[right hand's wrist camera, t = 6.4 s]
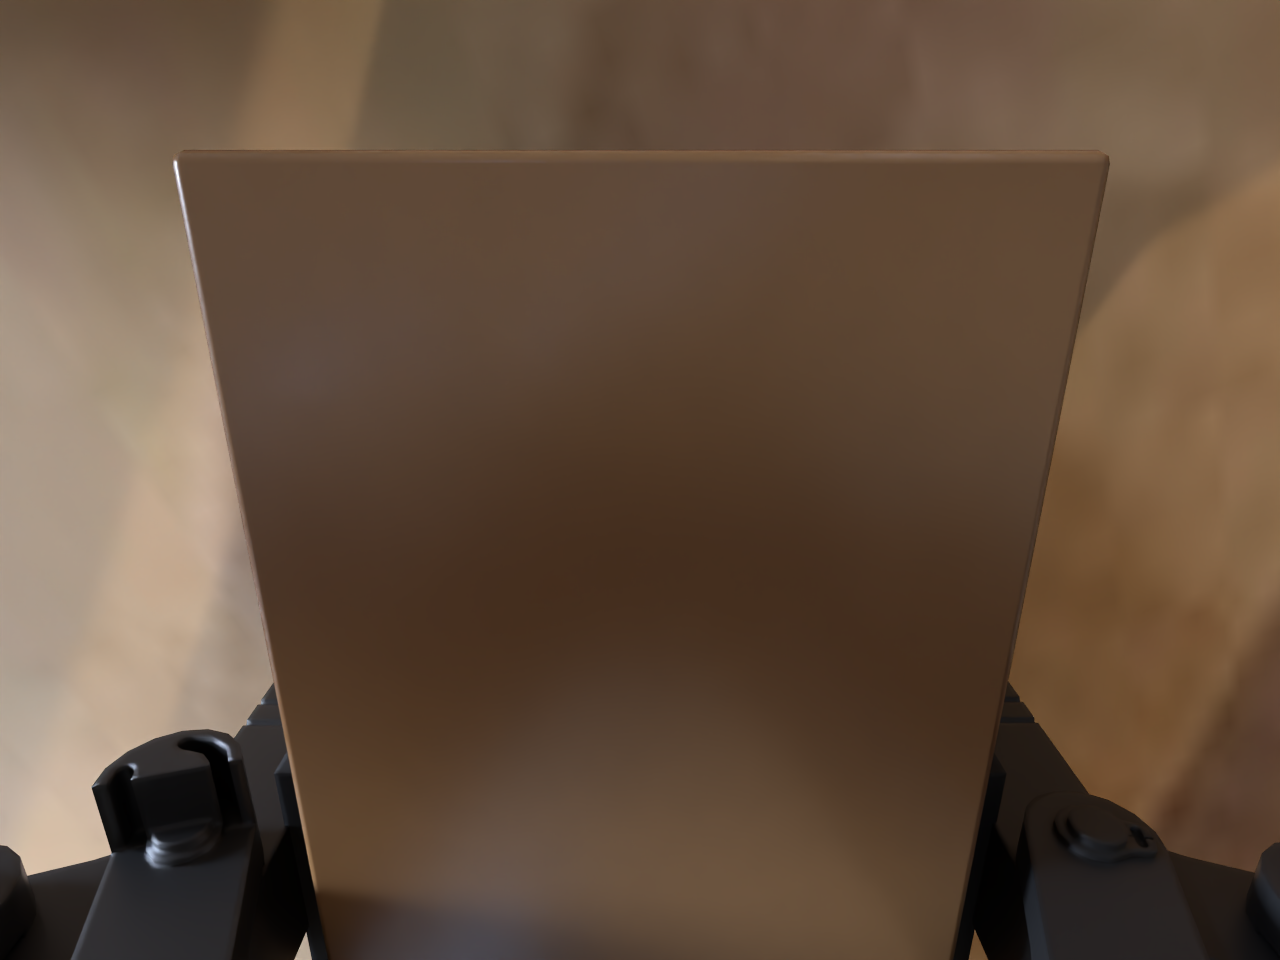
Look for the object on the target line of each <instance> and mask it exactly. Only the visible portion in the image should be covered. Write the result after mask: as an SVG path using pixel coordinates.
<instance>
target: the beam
mask: <svg viewBox="0 0 1280 960" xmlns="http://www.w3.org/2000/svg"><path fill="white" fill-rule="evenodd" d="M1109 165H1110V163H1109V156H1108V155H1107V154H1105V153H1103V152H1101V151H1099V150H183V151H181V152H179V153H177V154H175V155H174V157H173V169H174V174H175V179H176V184H177V189H178V194H179V199H180V204H181V210H182V215H183V220H184V225H185V230H186V235H187V240H188V245H189V251H190V256H191V261H192V266H193V271H194V276H195V281H196V286H197V291H198V297H199V302H200V307H201V312H202V317H203V322H204V327H205V332H206V338H207V343H208V348H209V353H210V358H211V363H212V368H213V373H214V379H215V384H216V389H217V394H218V399H219V404H220V409H221V414H222V419H223V425H224V430H225V435H226V440H227V445H228V450H229V455H230V460H231V466H232V471H233V476H234V481H235V486H236V491H237V496H238V501H239V506H240V512H241V517H242V522H243V527H244V532H245V537H246V542H247V547H248V553H249V558H250V563H251V568H252V573H253V578H254V583H255V588H256V594H257V599H258V604H259V609H260V614H261V619H262V624H263V629H264V634H265V640H266V645H267V650H268V655H269V660H270V665H271V670H272V675H273V681H274V686H275V691H276V696H277V701H278V706H279V711H280V716H281V722H282V727H283V732H284V737H285V742H286V747H287V752H288V757H289V762H290V768H291V773H292V778H293V783H294V788H295V793H296V798H297V803H298V809H299V814H300V819H301V824H302V829H303V834H304V839H305V844H306V849H307V855H308V860H309V865H310V870H311V875H312V880H313V885H314V890H315V896H316V901H317V906H318V911H319V916H320V921H321V926H322V931H323V937H324V942H325V947H326V952H327V957H328V960H953V958H954V953H955V948H956V943H957V938H958V932H959V927H960V922H961V917H962V912H963V907H964V902H965V897H966V892H967V887H968V882H969V877H970V872H971V866H972V861H973V856H974V851H975V846H976V841H977V836H978V831H979V826H980V821H981V816H982V811H983V805H984V800H985V795H986V790H987V785H988V780H989V775H990V770H991V765H992V760H993V755H994V750H995V744H996V739H997V734H998V729H999V724H1000V719H1001V714H1002V709H1003V704H1004V699H1005V694H1006V689H1007V683H1008V678H1009V673H1010V668H1011V663H1012V658H1013V653H1014V648H1015V643H1016V638H1017V633H1018V628H1019V623H1020V617H1021V612H1022V607H1023V602H1024V597H1025V592H1026V587H1027V582H1028V577H1029V572H1030V567H1031V562H1032V556H1033V551H1034V546H1035V541H1036V536H1037V531H1038V526H1039V521H1040V516H1041V511H1042V506H1043V501H1044V495H1045V490H1046V485H1047V480H1048V475H1049V470H1050V465H1051V460H1052V455H1053V450H1054V445H1055V440H1056V434H1057V429H1058V424H1059V419H1060V414H1061V409H1062V404H1063V399H1064V394H1065V389H1066V384H1067V379H1068V374H1069V368H1070V363H1071V358H1072V353H1073V348H1074V343H1075V338H1076V333H1077V328H1078V323H1079V318H1080V313H1081V307H1082V302H1083V297H1084V292H1085V287H1086V282H1087V277H1088V272H1089V267H1090V262H1091V257H1092V252H1093V246H1094V241H1095V236H1096V231H1097V226H1098V221H1099V216H1100V211H1101V206H1102V201H1103V196H1104V191H1105V185H1106V180H1107V175H1108V170H1109Z"/></svg>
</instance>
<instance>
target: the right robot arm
mask: <svg viewBox="0 0 1280 960" xmlns="http://www.w3.org/2000/svg"><path fill="white" fill-rule="evenodd" d="M261 701H262V702H261V705H257V707H256V708H255V710H254V711H253V712H252V714H251V715H250V717H249V718H248V719H247V725H246V726H242V728H241V729H240V731H239V732H238V733H237V735H236V736H235V738H234V739H233V738H232V737H231V736H230V735H229V734H226V733H222V732H218V731H213V730H209V729H206V730H190V731H181V732H177V733H173V734H170V735H166V736H162V737H159V738H155V739H153V740H151V741H149V742H147V743H145V744H142V745H140V746H138V747H136V748H134V749H132V750H130V751H128V752H126V753H125V754H124V755H122V756H121V757H120V758H119V759H117V760H116V761H115V762H113V763H112V764H111V765H109V766H108V767H107V768H105V770H104V771H103V772H102V774H101V775H100V776H99V778H98V779H97V780H96V782H95V783H94V784H93V786H92V790H93V794H94V797H95V800H96V803H97V806H98V810H99V813H100V816H101V819H102V823H103V826H104V829H105V832H106V835H107V839H108V842H109V845H110V848H111V852H112V854H111V855H109V856H105V857H102V858H99V859H96V860H92V861H88V862H84V863H80V864H75V865H71V866H67V867H63V868H59V869H54V870H50V871H46V872H42V873H38V874H33V875H29V876H27V875H26V872H25V869H24V866H23V864H22V861H21V858H20V856H19V855H17V854H16V853H15V852H14V851H12V850H11V849H10V848H9V847H8V846H1V845H0V960H294V959H295V956H296V954H297V952H298V949H299V947H300V945H301V943H302V940H303V938H304V936H305V933H306V932H307V937H308V942H309V947H310V952H311V956H312V960H328V957H327V952H326V947H325V942H324V937H323V931H322V926H321V921H320V916H319V911H318V906H317V901H316V896H315V890H314V885H313V880H312V875H311V870H310V865H309V860H308V855H307V849H306V844H305V839H304V834H303V829H302V824H301V819H300V814H299V809H298V803H297V798H296V793H295V788H294V783H293V778H292V773H291V768H290V762H289V757H288V752H287V747H286V742H285V737H284V732H283V727H282V722H281V716H280V711H279V706H278V701H277V696H276V691H275V686H274V683H273V684H272V686H271V687H270V689H269V690H268V691H267V693H266V694H265V696H264V697H263V698H262V700H261ZM974 930H975V931H976V933H977V935H978V937H979V940H980V942H981V944H982V946H983V949H984V951H985V953H986V956H987V958H988V960H1280V842H1279V843H1274V844H1273V845H1272V846H1270V847H1269V848H1268V849H1267V850H1265V851H1264V852H1263V853H1262V855H1261V857H1260V860H1259V863H1258V866H1257V868H1256V871H1255V873H1253V872H1249V871H1244V870H1240V869H1236V868H1232V867H1227V866H1223V865H1219V864H1215V863H1211V862H1206V861H1202V860H1198V859H1194V858H1189V857H1186V856H1183V855H1179V854H1176V853H1173V852H1170V851H1167V849H1166V848H1165V846H1164V844H1163V843H1162V841H1161V840H1160V838H1159V837H1158V835H1157V834H1156V832H1155V831H1154V830H1152V829H1151V828H1150V827H1149V826H1148V825H1147V824H1145V823H1144V822H1143V821H1142V820H1141V819H1140V818H1138V817H1137V816H1136V815H1135V814H1133V813H1131V812H1130V811H1128V810H1126V809H1124V808H1122V807H1120V806H1118V805H1117V804H1115V803H1113V802H1111V801H1109V800H1106V799H1103V798H1100V797H1096V796H1093V795H1090V794H1089V793H1088V792H1087V791H1086V789H1085V788H1084V786H1083V785H1082V784H1081V782H1080V781H1079V779H1078V778H1077V777H1076V775H1075V774H1074V772H1073V771H1072V770H1071V768H1070V767H1069V765H1068V764H1067V763H1066V761H1065V760H1064V758H1063V757H1062V756H1061V754H1060V753H1059V752H1058V750H1057V749H1056V747H1055V746H1054V745H1053V743H1052V742H1051V740H1050V739H1049V738H1048V736H1047V735H1046V733H1045V732H1044V731H1043V729H1042V728H1041V726H1040V725H1039V724H1038V723H1035V722H1034V717H1033V715H1032V714H1031V712H1030V711H1029V710H1028V708H1027V707H1026V706H1025V704H1024V703H1023V702H1020V697H1019V696H1018V694H1017V693H1016V692H1015V690H1014V689H1013V687H1012V686H1011V685H1010V683H1009V682H1008V683H1007V689H1006V694H1005V699H1004V704H1003V709H1002V714H1001V719H1000V724H999V729H998V734H997V739H996V744H995V750H994V755H993V760H992V765H991V770H990V775H989V780H988V785H987V790H986V795H985V800H984V805H983V811H982V816H981V821H980V826H979V831H978V836H977V841H976V846H975V851H974V856H973V861H972V866H971V872H970V877H969V882H968V887H967V892H966V897H965V902H964V907H963V912H962V917H961V922H960V927H959V932H958V938H957V943H956V948H955V953H954V958H953V960H968V959H969V954H970V949H971V944H972V940H973V935H974Z"/></svg>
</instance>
